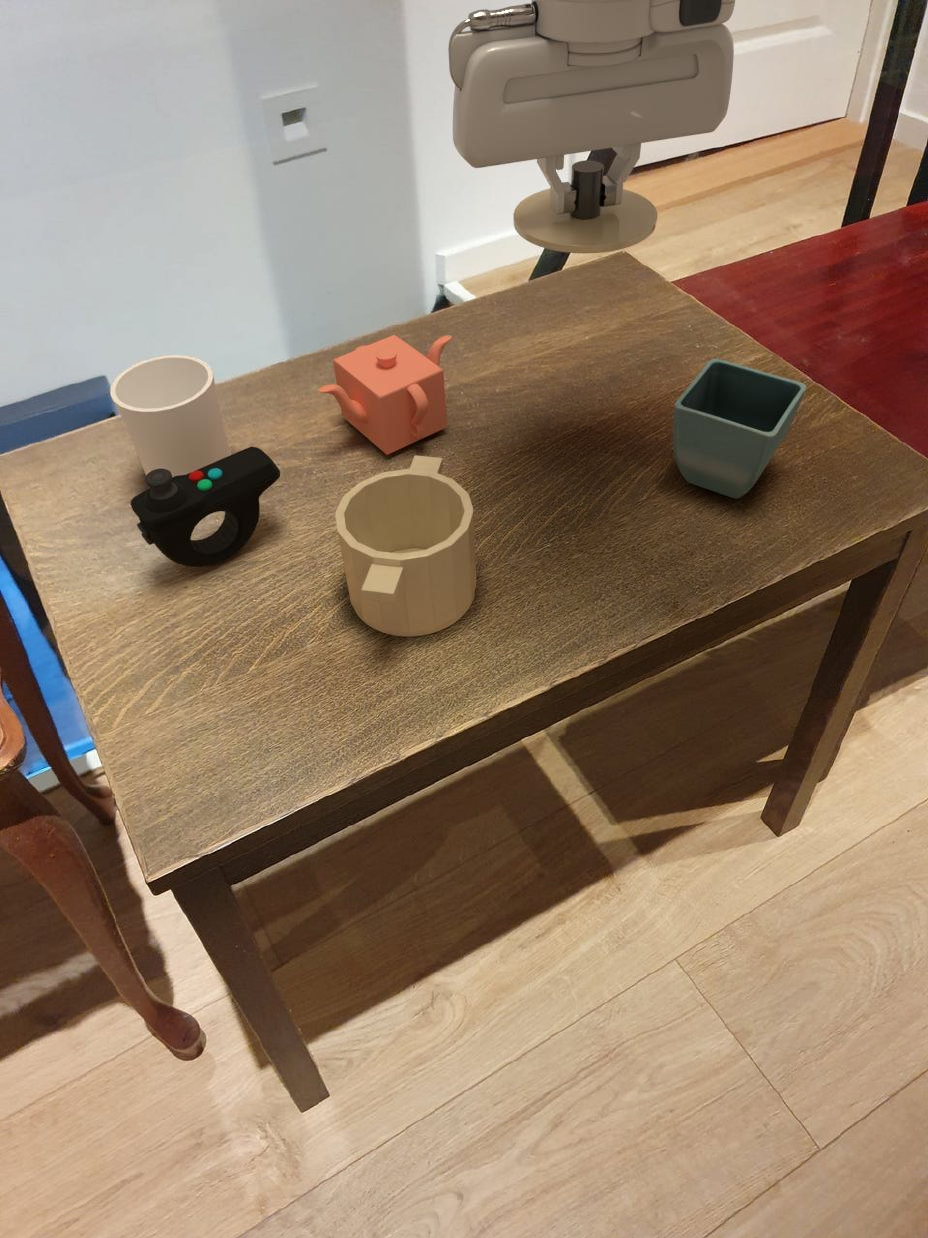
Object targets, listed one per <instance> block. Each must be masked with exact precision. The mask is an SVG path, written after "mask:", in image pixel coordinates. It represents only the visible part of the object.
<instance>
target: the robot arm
mask: <svg viewBox="0 0 928 1238" xmlns="http://www.w3.org/2000/svg"><path fill="white" fill-rule="evenodd" d="M735 4H736V0H531V3H523V4H517V5H510V6H506V7H503V8H499V9H492V10H489V9H478V10H474V11H471V12H470V13H468V16H467V18H466V19H464V20H463V21H461V22H460V23H458V24H457V25H456V26H455V28H454V29H453V31H452V32H451V35H450V37H449V40H448V48H447V49H448V51H447V52H448V68H449V69H448V70H449V76H450V79H451V81H452V83H453V84H454V93H453V103H452V104H453V105H452V142H453V145H454V147H455V149H456V151H457V152H458V154H459V156H461V158H462V159H463V160H464V161H466V163H467V164H468V165H470V166H471V167H472V168H474V169H481V168H488V167H489V168H490V167H494V166H501V165H507V164H515V163H521V162H526V161H527V162H528V161H533V160H536V164H537V165H538V167H539V169H540V171H541V173H542V175H543V176H544V178H545V180H546V182H547V184H548V185H549V189H550V206H551V210H552V211H553V212H554V213H555V214H556V215H560V214H565V213H570V212H575V207H576V205H575V204H574V202H575V200H576V189H575V188H574V187H571V182H569V181H564V182H562V179H561V178H560V176H559V174H558V172H557V171H560V170H563V169H564V166H565V155H566V156H567V155H572V154H579V153H585V152H592V151H599V150H605V149H612V151H614V152H615V153H616V155H615V157H614V159H613V162H612V163H611V165H610V167H609V169H608V170H607V173H606V175H603V185H602V199H601V207H608V206H614V205H620V204H621V201H622V191H623V189H624V183H626V181H627V180H628V178H629V176H630V174H631V173H632V172H633V170H634V168H635V166H636V165H637V163H638V162H639V160H640V158H641V148H642V144H646V143H651V142H657V141H664V140H670V139H671V140H672V139H677V138H685V137H689V136H696V135H702V134H704V135H705V134H710V133H714V132H715V131H716V130H717V129H718V127H719V126H720V125H721V123H722V122H723V120H724V119H725V118H726V116H727V113H728V109H729V105H730V98H731V90H732V83H733V71H734V57H735V56H734V55H735V54H734V52H735V48H734V38H733V35H732V33H731V30H730V29H729V28H728V26H726V25H725V24H724V23H727V22H728V21H730V19H731V17H732V16H733V13H734V10H735V6H736V5H735ZM468 27H469V30H465V29H466V28H468ZM463 30H464V31H463Z"/></svg>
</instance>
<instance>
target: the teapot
mask: <svg viewBox="0 0 928 1238" xmlns="http://www.w3.org/2000/svg"><path fill="white" fill-rule="evenodd" d="M452 338H453V337H452V335H451V334H447V335H443V336H441V337H439V338H437V339H436V340H435V341H434V342H433V343H432V344H431V347H430V349H429V350H428V352H427V354H426V355H427V356H425V355H424V354H422V353H421V352H420V351H418V350H417V349H415V348H414V347H413V346H411V345H410V344H408V343H407V342H405V341H404V340H403V339H401V338H400V337H399V336H397V335H395V334H392V335H391V336H388V337H386V338H383V339H380V340H377V341H375V342H373V343H371V344H368V345H360V346H357V347H356V348H355V349H354V350H353V351H351V352H348V353H346V354H344V355H341V356H338V357H336V358H333V360H332V365H333V370H334V375H335V376H334V377H335V381H336V383H335V384H334V383H331V384H330V383H329V384H326V385H323V386H321V387H320V388H318V389H317V391H318V392H319V393H323V394H330V395H332V396H333V397H334V399H335V400H336V401H337V403H338V405H339V407H340V412H341V417H342V418H344V419H345V420H346V421H347V422H348V423H349V424H351V425H352V426H353V427H354V428H355V429H356V430H357V431H359V433H361V434H362V435H363V436H364V437H366V438H367V439H368V440H369V441H370V442H371V443H372V444H374V445H375V446H376V447H377V448H378V449H379V450H381V452H383V453H384V454H385V455H386V456H388V455H390V454H392V453H394V452H397V451H399V450H402V449H403V448H406V447H408V446H409V445H412V444H414V443H415V442H418V441H420V440H422V439H425V438H427V437H428V436H431V435H434V434H435V433H437V432H440V431H442V430H443V429H445V428H448V422H447V421H448V419H447V407H446V405H447V404H446V387H445V374H444V373H445V372H444V370H443V369H442V368H441V367H440V362H441V355H442V353H443V350H444V349H445V346H446V345H447V344H448V343H449V342H450V341H451V340H452Z"/></svg>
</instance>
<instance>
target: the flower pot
mask: <svg viewBox="0 0 928 1238" xmlns="http://www.w3.org/2000/svg"><path fill="white" fill-rule="evenodd" d="M806 391H807V385H806V384H805V383H804V382H800V381H798V380H794V379H791V378H786V377H784V376H779V375H775V374H772V373H769V372H765V371H762V370H759V369H755V368H751V367H748V366H745V365H741V364H738V363H734V362H731V361H728V360H724V359H720V358H712V359H709V360H708V362H706V364H705V365H704V367H703V368H702V369H701V370H700V372H699V373H698V374H697V376H696V377H695V378H694V379H693V381H692V382H691V383H690V384H689V386H688V387H687V388H686V389H685V390H684V391H683V392H682V393H681V395H680V396H679V397H678V398H677V400H676V401H675V402H674V405H673V424H672V425H673V426H672V450H673V451H672V452H673V457H674V460H675V461H674V462H675V464H676V467H677V468H678V470H679V472H680V473H681V475H682V477H683V478H684V479H685V481H686V483H688V484H691V485H694V486H697V487H700V488H701V489H705V490H708V491H711V492H713V493H716V494H720V495H722V496H725V497H728V498H731V499H734V500H735V499H736V500H739V499H740V498H741V497H743V496H744V495H746V494H747V493H748V492H749V491H750V490H751V489H752V488H753V487H754V486H755V484H756V483H757V481H758V480H759V478H760V477H761V476H762V473H763V472H764V470H765V469H766V467H767V466H768V464H769V462H770V461H771V459H772V458H773V456H774V455H775V453H776V452H777V450H778V449H779V447H780V446H781V444H782V443H783V441H784V439H785V437H786V436H787V434H788V432H789V430H790V428H791V426H792V423H793V421H794V419H795V416H796V414H797V412H798V410H799V407H800V405H801V402H802V400H803V399H804V395H805V392H806Z"/></svg>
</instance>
